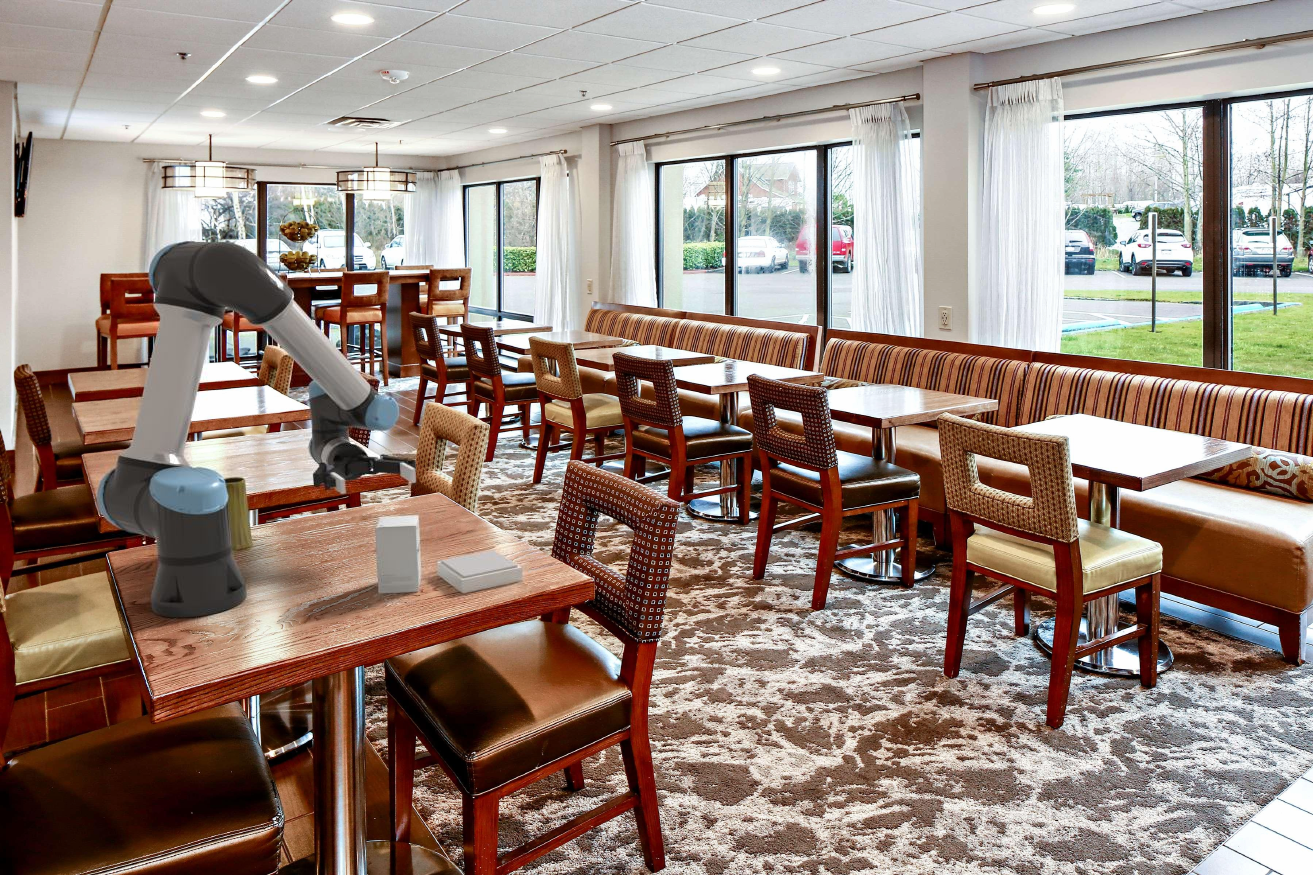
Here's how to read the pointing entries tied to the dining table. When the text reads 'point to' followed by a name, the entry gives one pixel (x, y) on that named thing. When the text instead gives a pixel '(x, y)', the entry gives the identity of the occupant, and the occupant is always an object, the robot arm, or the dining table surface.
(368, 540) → the dining table surface
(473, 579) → the pedestal
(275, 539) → the dining table surface
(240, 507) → the vase
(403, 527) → the supplement box
